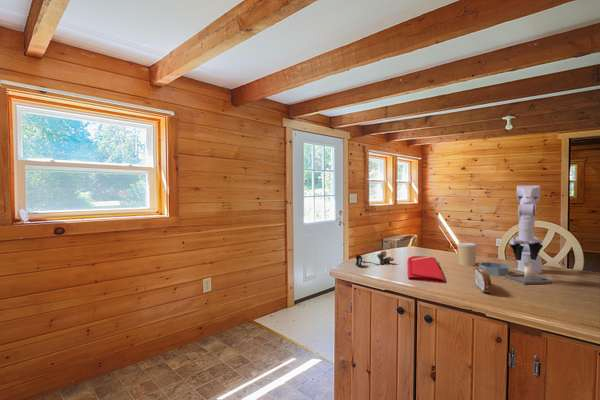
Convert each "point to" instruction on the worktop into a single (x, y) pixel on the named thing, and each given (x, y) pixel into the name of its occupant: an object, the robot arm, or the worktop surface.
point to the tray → (534, 280)
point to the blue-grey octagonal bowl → (495, 268)
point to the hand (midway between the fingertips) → (525, 259)
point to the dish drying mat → (424, 269)
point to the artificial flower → (380, 256)
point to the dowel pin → (527, 271)
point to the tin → (483, 280)
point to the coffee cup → (467, 253)
